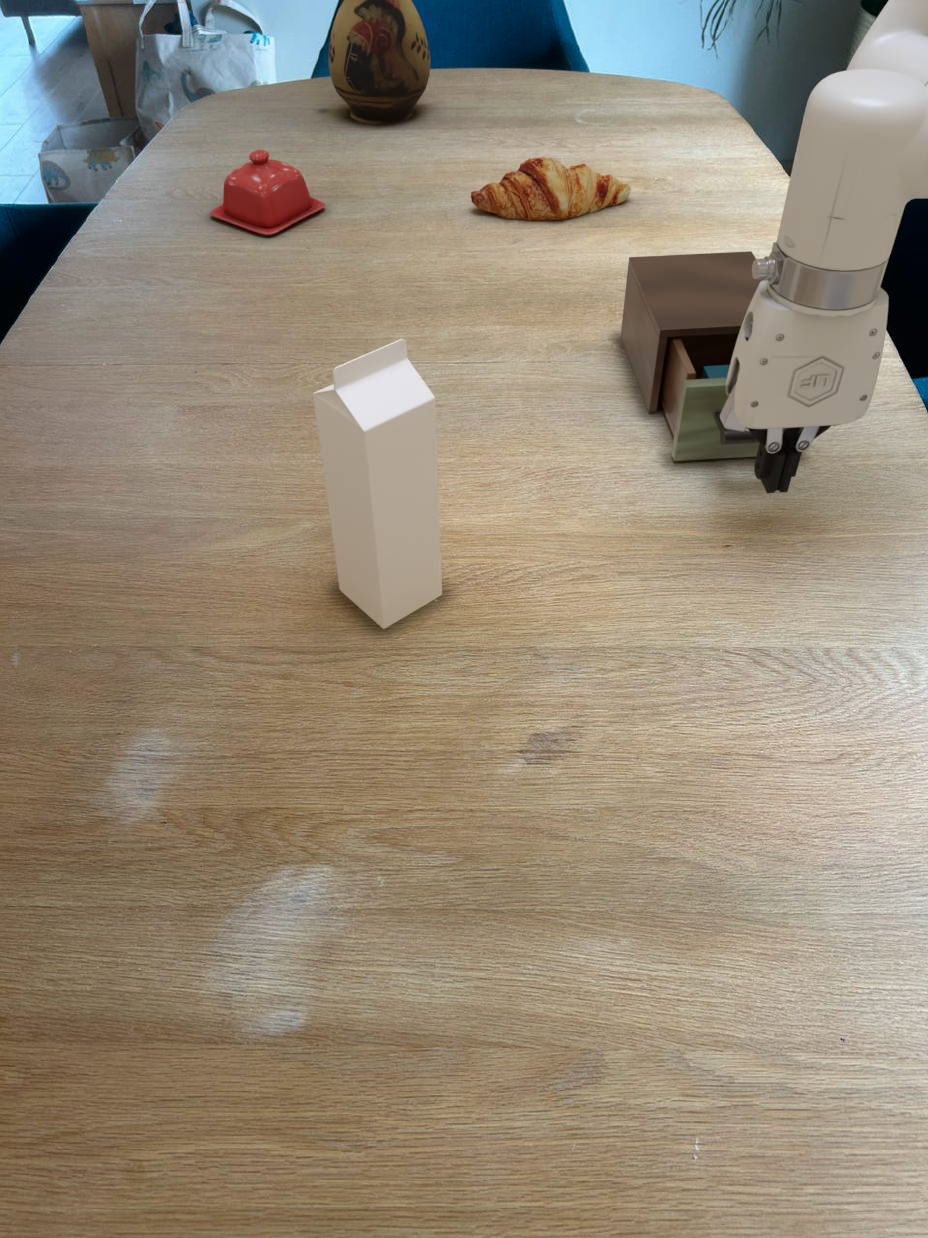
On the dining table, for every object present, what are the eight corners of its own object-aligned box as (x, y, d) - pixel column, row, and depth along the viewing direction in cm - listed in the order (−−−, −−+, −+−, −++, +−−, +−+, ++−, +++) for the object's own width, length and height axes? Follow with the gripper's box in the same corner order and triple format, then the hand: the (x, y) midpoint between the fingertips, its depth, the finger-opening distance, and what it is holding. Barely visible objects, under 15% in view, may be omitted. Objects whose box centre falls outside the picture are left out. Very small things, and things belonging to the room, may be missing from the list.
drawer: (811, 482, 89) (833, 407, 83) (684, 489, 88) (698, 414, 83) (754, 375, 101) (770, 303, 96) (643, 381, 101) (653, 309, 95)
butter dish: (269, 245, 125) (258, 176, 119) (206, 222, 130) (193, 155, 124) (331, 213, 132) (323, 146, 126) (269, 192, 137) (259, 127, 131)
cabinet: (774, 411, 98) (796, 322, 91) (647, 419, 98) (660, 329, 91) (734, 336, 108) (751, 250, 102) (619, 342, 108) (629, 256, 101)
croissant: (619, 220, 137) (617, 156, 135) (643, 212, 127) (642, 144, 125) (467, 230, 134) (462, 166, 132) (480, 224, 125) (475, 154, 122)
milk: (339, 594, 81) (303, 350, 65) (398, 561, 84) (377, 319, 68) (385, 635, 77) (358, 388, 62) (445, 599, 80) (434, 353, 65)
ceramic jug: (445, 104, 160) (440, -126, 139) (413, 139, 150) (401, -104, 129) (347, 94, 164) (327, -131, 143) (309, 127, 154) (281, -110, 132)
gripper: (735, 303, 67) (693, 517, 80) (953, 292, 67) (876, 505, 80) (707, 253, 72) (672, 461, 85) (909, 243, 73) (843, 450, 86)
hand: (771, 482), depth 83 cm, fingers closed
